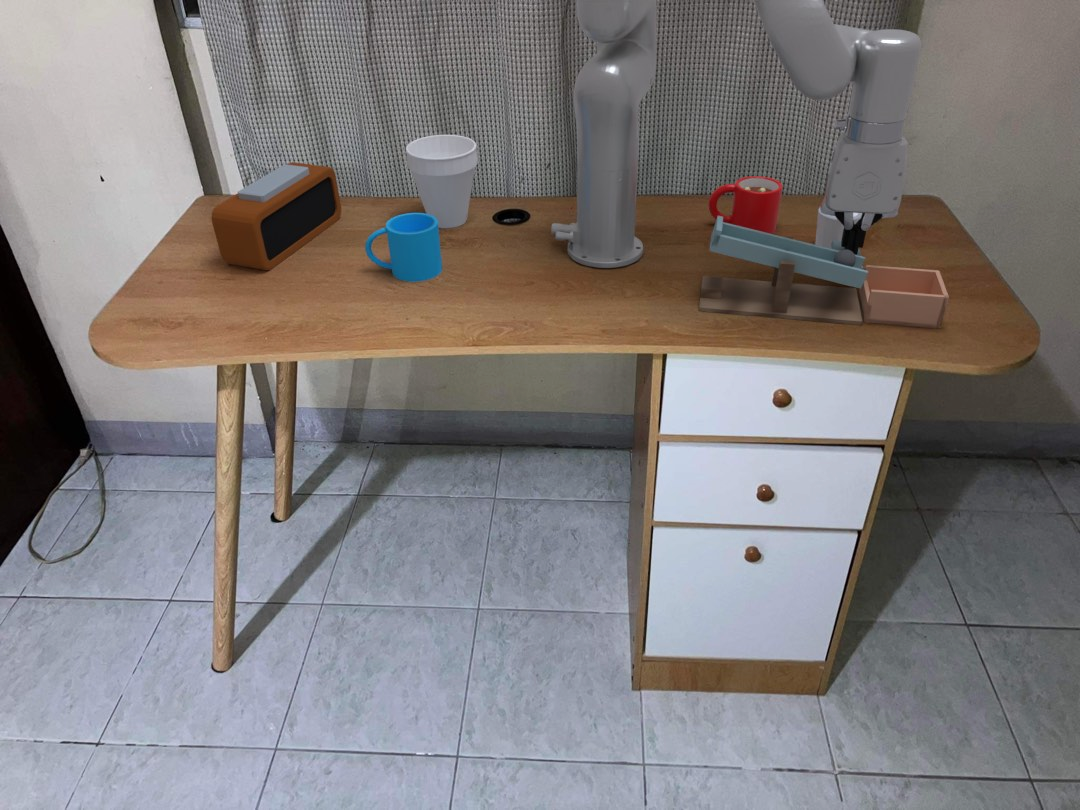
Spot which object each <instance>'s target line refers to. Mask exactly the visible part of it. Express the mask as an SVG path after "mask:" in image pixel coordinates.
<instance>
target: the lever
mask: <svg viewBox="0 0 1080 810" xmlns="http://www.w3.org/2000/svg"><path fill="white" fill-rule="evenodd" d="M715 220H716V219H715ZM786 237H787V236H781V235H776V234H774V233H773V234H769V233H765V232H761V231H757V230H753V229H749V228H745V227H741V226H737V225H733V224H729V223H725V222H723V217H722V216H718V217H717V220H716V221H715V223H714V226H713V230H712V233H711V236H710V244H709V252H713V253H717V254H720V255H725V256H729V257H732V258H736V259H741V260H745V261H747V262H752V263H756V264H760V265H763V266H764V265H765V266H769V267H771V268H772V267H773V268H774V267H776V268H779V265H780V260H782V261H795V268H794V273H797V274H800V275H804V276H807V277H812V278H816V279H821V280H825V281H829V282H832V283H836V284H841V285H845V286H849V287H851V288H856V289H859V290H860V289H861V287H862V285H863V283H864V281H865V279H866V276H867V274H868V271H866V270H865V269H864V265H863V264H864V262H865V260H866V257H865V256H862V254H861V251H860V248H859V249H858V254H857V255H855V257H856V262H855V265H854V266H853V267H850V266H846V265H842V264H838V263H834V256H835V255H836V253H837V252H839V251H841V250H844V249H845V247H841V241H838V240H834V239H833V240H832V243H831V247H832V249H830V248H826V247H822V246H818V245H815V243H814V244H813V243H809V242H805V241H801V240H798V239H794V238H793V239H790V238H786Z"/></svg>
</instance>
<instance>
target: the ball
mask: <svg viewBox="0 0 1080 810" xmlns="http://www.w3.org/2000/svg"><path fill="white" fill-rule="evenodd" d="M855 262H856V257H855V254H854V253H853V252H852V251H850V250H846V249H844V250H841V251H839V252H837V253H836V255H835V256H834V263H838V264H842V265H846V266H850V267H853V266H854V265H855Z"/></svg>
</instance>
